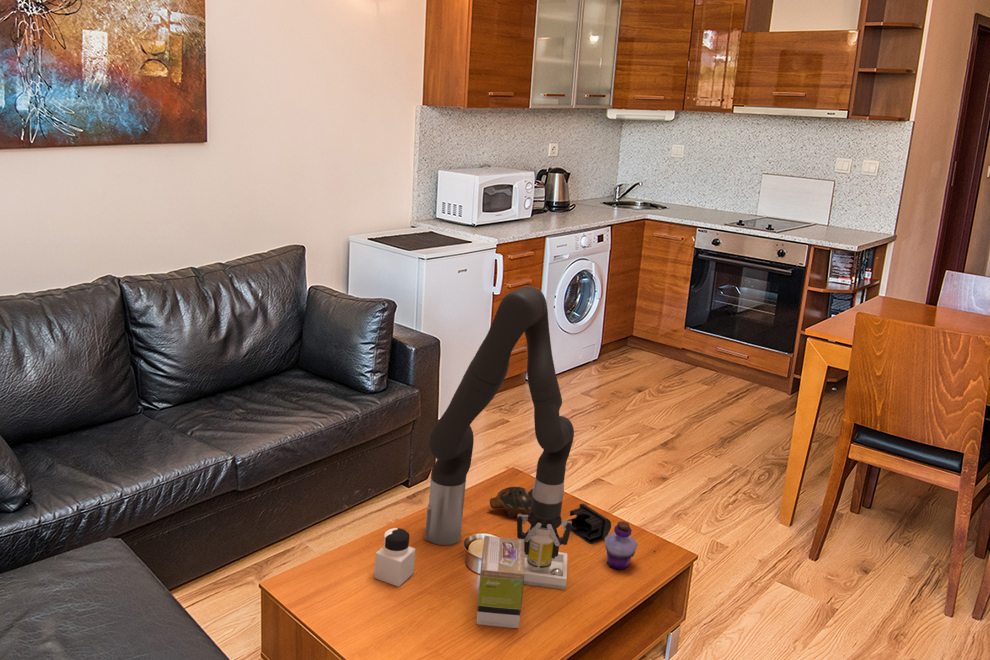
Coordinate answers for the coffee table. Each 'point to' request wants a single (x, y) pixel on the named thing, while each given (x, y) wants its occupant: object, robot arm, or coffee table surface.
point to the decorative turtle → (513, 501)
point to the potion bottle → (620, 546)
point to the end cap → (589, 524)
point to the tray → (547, 573)
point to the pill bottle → (540, 550)
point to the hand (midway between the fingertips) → (540, 554)
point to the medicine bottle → (395, 558)
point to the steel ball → (557, 572)
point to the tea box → (501, 582)
